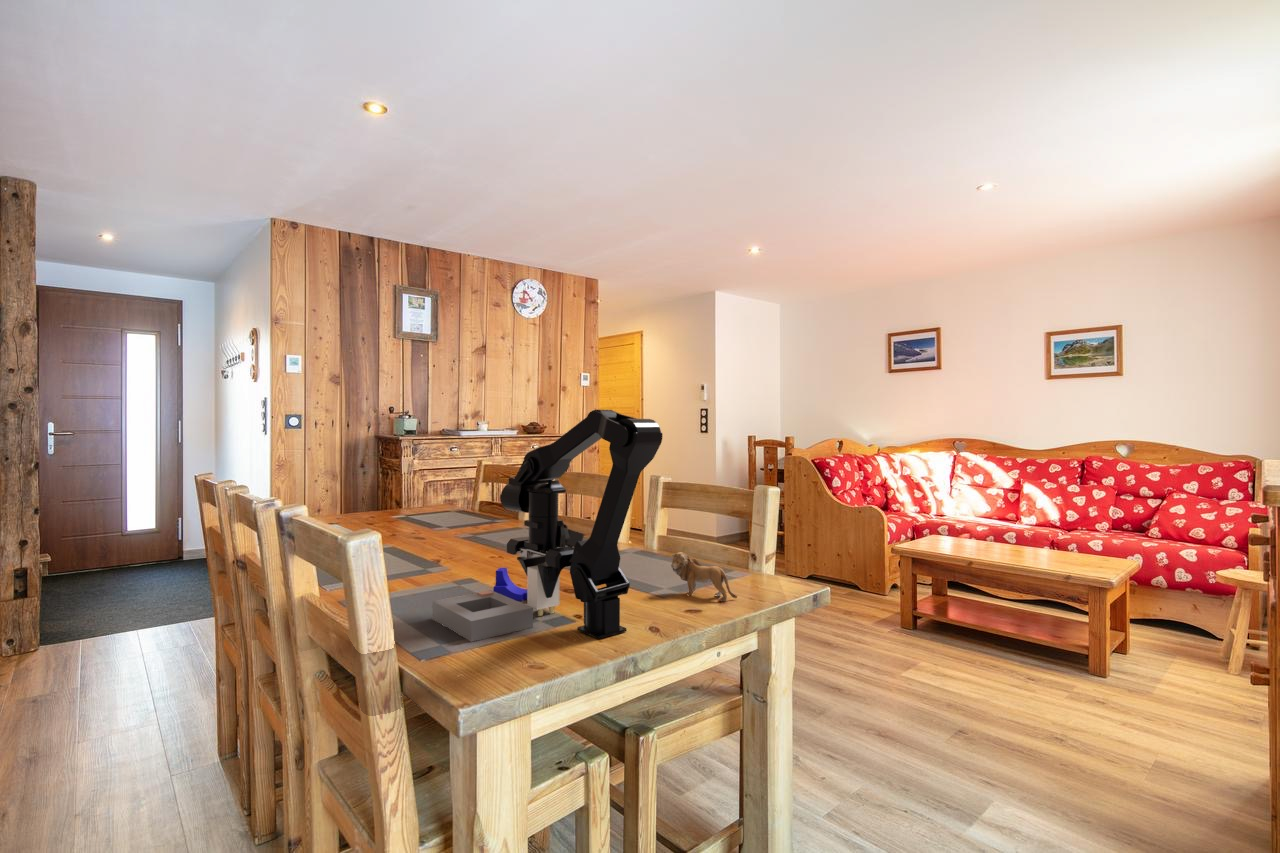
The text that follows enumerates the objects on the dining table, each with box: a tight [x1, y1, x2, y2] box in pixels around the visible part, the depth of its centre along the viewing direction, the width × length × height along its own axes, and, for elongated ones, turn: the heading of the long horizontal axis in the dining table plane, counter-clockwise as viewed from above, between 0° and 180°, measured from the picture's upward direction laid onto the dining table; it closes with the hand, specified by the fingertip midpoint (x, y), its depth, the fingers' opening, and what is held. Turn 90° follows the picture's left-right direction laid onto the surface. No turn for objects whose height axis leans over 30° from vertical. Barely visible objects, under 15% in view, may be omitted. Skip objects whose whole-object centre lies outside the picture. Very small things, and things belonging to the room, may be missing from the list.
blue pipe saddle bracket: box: [492, 567, 527, 602], centre depth 134 cm, size 12×4×6 cm, turn 85°
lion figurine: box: [670, 551, 738, 602], centre depth 136 cm, size 15×5×9 cm, turn 67°
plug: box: [526, 566, 560, 617], centre depth 123 cm, size 4×5×9 cm
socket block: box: [432, 589, 534, 643], centre depth 117 cm, size 16×12×4 cm
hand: (543, 595), depth 123 cm, fingers closed on plug, 4 cm apart
